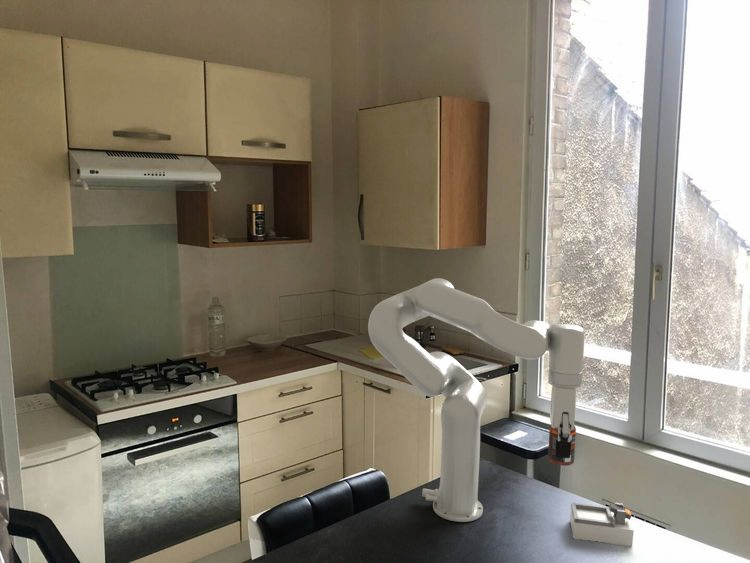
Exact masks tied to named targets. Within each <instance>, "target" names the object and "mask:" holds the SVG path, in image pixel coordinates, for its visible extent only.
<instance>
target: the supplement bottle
mask: <svg viewBox="0 0 750 563" xmlns="http://www.w3.org/2000/svg"><path fill="white" fill-rule="evenodd" d="M560 427H562V425H560ZM561 432H562V430H560V434H561ZM548 434H549V435H548V436H549V437H548V453H547V458H548V461H549V462H551V464H555V465H558V466H563V467H564V466H565V467H566V466H567V467H568V466H571V465H573V464H574V463H575V462H574V461H575V454H576V439H577V438H576V436H577V428H576V426H575V425H574V428H573V429H572V430H571V429H570V441H571V447H570V458H560V457H556V455H555V454H556V440H557V437H558V429H557V428H555V429H554V428H553V427H552V426H551V423H550V424H549V432H548Z"/></svg>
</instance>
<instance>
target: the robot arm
mask: <svg viewBox="0 0 750 563" xmlns="http://www.w3.org/2000/svg"><path fill="white" fill-rule="evenodd" d="M427 317H431V318H434V319H437V320H439V321H441V322H444V323H446V324H449V325H451V326H454V327H456V328H459V329H461V330H463V331H466V332H469V333H471V334H472V335H473V336H475V337H477V339H480V340H481V341H483V342H485V343H486V344H488V345H490V346H492V347H494V348H496V349H498V350H500V351H502V352H505V353H508V354H509V355H512V356H515V357H517V358H520V359H524V360H533V361H534V360H537V359H540V358H541V357H543V356H544V355H545V354H546V352H549V358H548V359H549V360H548V379H547V380H548V382H547V383H548V384H549V385H551V392H550V394H551V395H550V407H549V408H550V410H549V419H550V424H551V426H552V427H553V428H554V429H555V428H557V429H558V437H557V440H556V454H555V455H556V457H560V458H570V447H571V441H570V429H571V430H572V429H573V428H574V426H575V420H576V419H575V418H576V409H577V408H576V407H577V406H576V405H577V404H576V403H577V389H578V388H581V387H582V386H583V372H584V370H583V369H584V350H585V330H584V329H583V327H581V326H579V325H576V324H571V323H570V324H569V323H567V324H566V323H561V324H560V323H559V324H558V323H557V324H556V323H551V322H547V321H541V320H536V319H535V320H528V321H525V322H524V323H520V322H517V321H514V320H513V319H511V318H509V317H505V316H503V315H502V314H500V313H499V312H497V311H496V310H495V309H493V307H492V306H491V305H490V304H489V303H488V302H487V301H485V299H482V298H480V297H478V296H475V295H473V294H469V293H467V292H464V291H462V290H459V289H456V288H455V287H454V285H453V284H452V283H451V282H450V281H449V280H447V279H444V278H438V277H436V278H433V279H430V280H428V281H426V282H424V283H421V284H420V285H418V286H415V287H412V288H410V289H408V290H405V291H403V292H400V293H397V294H395V295H392V296H390V297H388V298H386V299H384V300H382V301H380V302H379V303H377V304H376V305H375V306H374V308H373V309H372V310H371V313H370V314H369V318H368V323H367V324H368V325H367V332H368V336H369V339H370V342H371V343H372V346H374V348H375V350H376V351H377V352H379V354H380V355H381V356H382V357H384V359H386V360H387V361H388V362H389V363H390V364H391V365H392V366H393V367H394V368H395V369H396V370H397V371H398V372H399V373H400V374H401V375H402V376H403V377H404V378H405V379H406V380H407V381H408V382H409V383H410V384H412V386H413V387H415V388H416V390H417V391H419V392H420V393H421V394H422V395H424V396H427V397H436V396H439V395H440V394H441V395H443V397H444V400H443V402H442V406H441V410H440V422H441V448H440V449H441V455H440V456H441V457H440V476H439V478H440V479H439V488H435V489H429V488H422V492H421V494H422V495H421V496H422V497H425V501H429V502H430V501H431V502H433V503H432V508H433V511H434V512H435V514H436V515H437V516H439V517H441V518H442V519H445V520H448V521H452V522H458V523H467V522H468V523H469V522H472V521H475V520H478V519H479V518H481V517H482V516H483V513H484V506H483V504H482V503H481V502H480V501H479V500H478V494H479V493H478V492H479V475H480V473H479V472H480V454H481V452H480V451H481V448H480V447H481V419H482V418H481V417H482V415H483V413H484V411H485V409H486V406H487V403H488V394H487V393H488V392H487V391H486V389H485V387H484V386H483V385H482V383H481V382H480V381H479V380H478V379H477V378H476V377H475V376H473V375H472V374H471V373H470V371H468V370H467V369H466V368H465V367H464V366H463V365H461V364H460V363H459V362H458V361H457V359H455V358H454V357H452V356H451V355H450V354H448V353H446V352H443V351H432V352H428V351H427V350H426V349H424V347H422V346H421V345H420V343H419V342H418V341H416V340H415V339H414V338H413V337H411V336H410V335H408V334H406V333H405V331H404V330H403V328H405V327H406V326H408V325H410V324H412V323H414V322H416V321H419V320H421V319H424V318H427ZM560 425H562V427H560ZM560 430H562V432H561V434H560Z"/></svg>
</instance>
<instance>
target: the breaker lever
mask: <svg viewBox="0 0 750 563" xmlns="http://www.w3.org/2000/svg"><path fill="white" fill-rule="evenodd" d="M614 504H615V503H611V502H609V504H608V506H607V507H609V510H610V511H611V512H613V513H616V514H617V510H624V511H626V516H625V518H627V519H629V520H630V521H631V518H632V513H631V511H630V509H628V508H624V507H623V508H621V507H618V506H616V505H614Z"/></svg>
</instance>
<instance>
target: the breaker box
mask: <svg viewBox="0 0 750 563" xmlns="http://www.w3.org/2000/svg"><path fill="white" fill-rule="evenodd" d="M613 504H614V505H616V506H618V507H621V508H623V509H624V504H623V503H621V502H614V503H613ZM625 516H626V511H624V510H617V514H616V513H613V512H611V511H610V510H609V507H608V506H606V505H605V506H604V505H597V504H596V505H595V504H588V503H581V502H571V504H570V517H569V523H571V524H570V527H571V528H570V529H571V533H572V538H576V539H575V540H580V539H582V540H583V541H588V540H590V542H595V541H598V542H597V543H603V542H604V543H605V544H609V545H611V544H612V545H619V546H626V547H633V544H634V543H633V541H634V531H635V530H634V528H633V525H632V523H631V519H630V520H629V519H627V518H625ZM582 540H581V541H582Z"/></svg>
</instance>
